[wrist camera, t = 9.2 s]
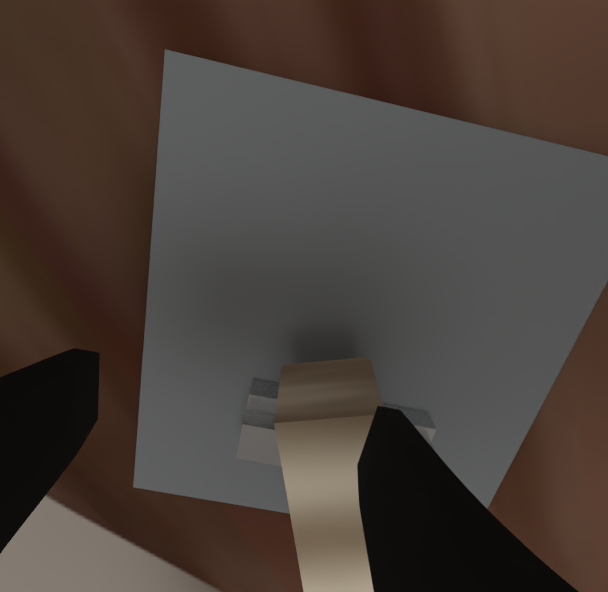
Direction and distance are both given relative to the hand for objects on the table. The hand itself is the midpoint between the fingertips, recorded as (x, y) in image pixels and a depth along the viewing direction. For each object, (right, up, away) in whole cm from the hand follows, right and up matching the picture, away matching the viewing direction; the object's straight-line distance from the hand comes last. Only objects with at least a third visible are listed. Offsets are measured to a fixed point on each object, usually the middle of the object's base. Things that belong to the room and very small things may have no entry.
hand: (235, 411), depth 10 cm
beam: (+3, -5, +10) cm, 12 cm away
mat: (+4, 0, +11) cm, 12 cm away
